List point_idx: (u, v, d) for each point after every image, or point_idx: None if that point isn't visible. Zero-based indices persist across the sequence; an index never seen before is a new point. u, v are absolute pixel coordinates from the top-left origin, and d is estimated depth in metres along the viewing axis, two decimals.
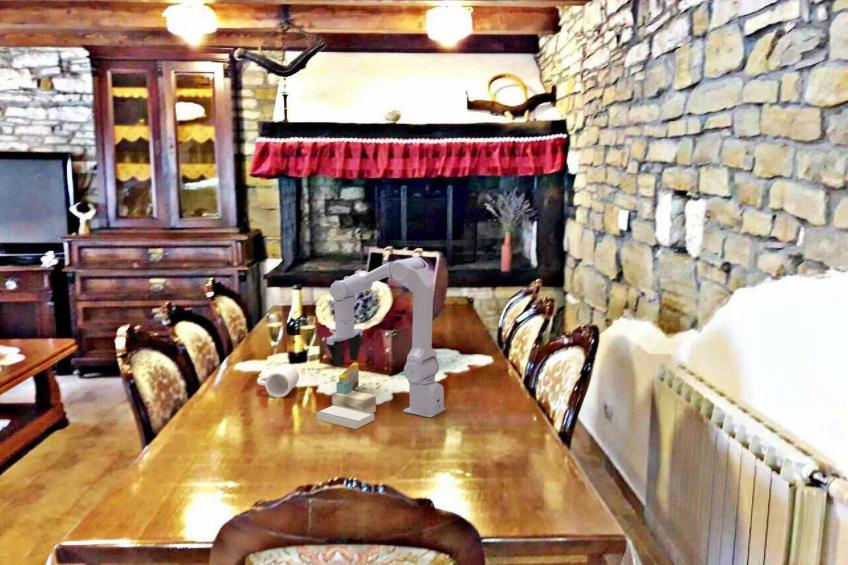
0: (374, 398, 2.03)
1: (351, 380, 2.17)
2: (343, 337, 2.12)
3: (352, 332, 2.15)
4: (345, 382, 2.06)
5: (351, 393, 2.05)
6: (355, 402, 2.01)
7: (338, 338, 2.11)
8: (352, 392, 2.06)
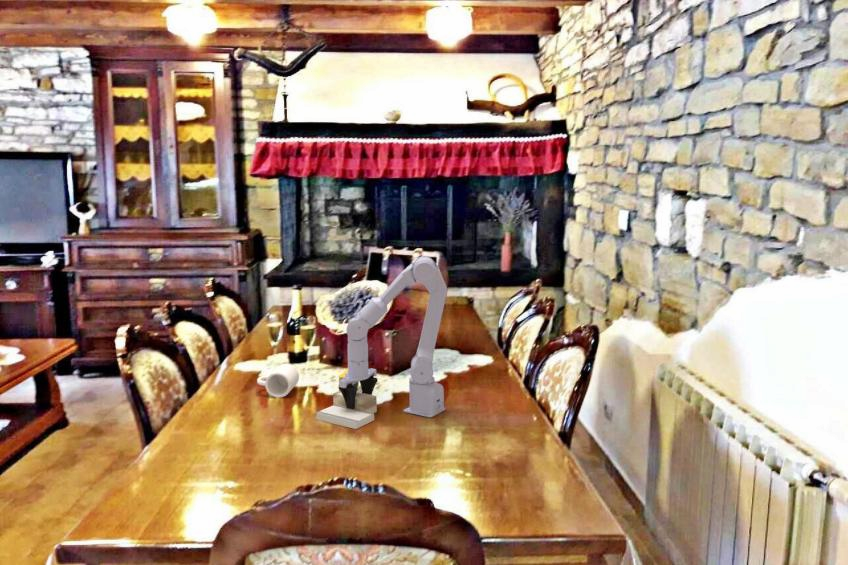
0: (375, 398, 2.03)
1: None
2: (356, 379, 1.98)
3: (366, 374, 2.01)
4: None
5: None
6: (355, 402, 2.01)
7: (351, 381, 1.97)
8: None
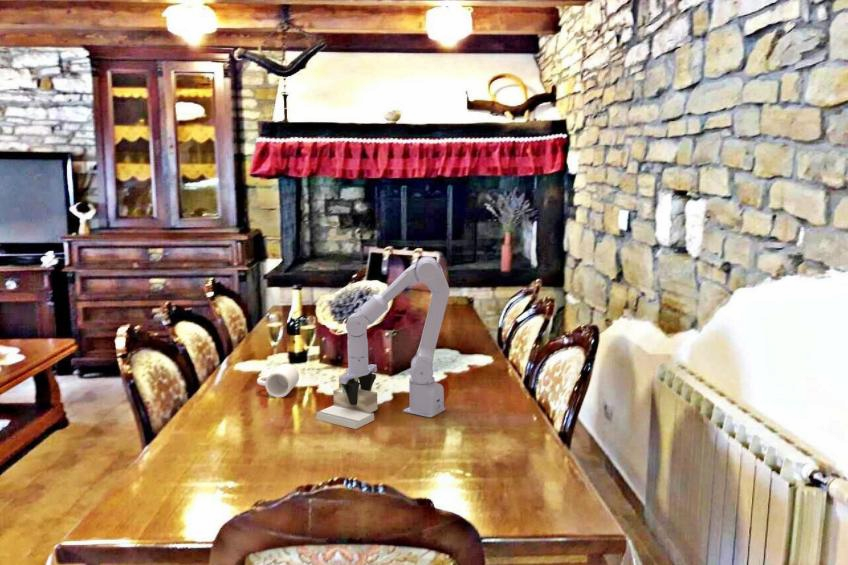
0: (376, 394, 2.02)
1: None
2: (357, 375, 1.98)
3: (366, 369, 2.01)
4: None
5: None
6: None
7: (351, 376, 1.97)
8: None
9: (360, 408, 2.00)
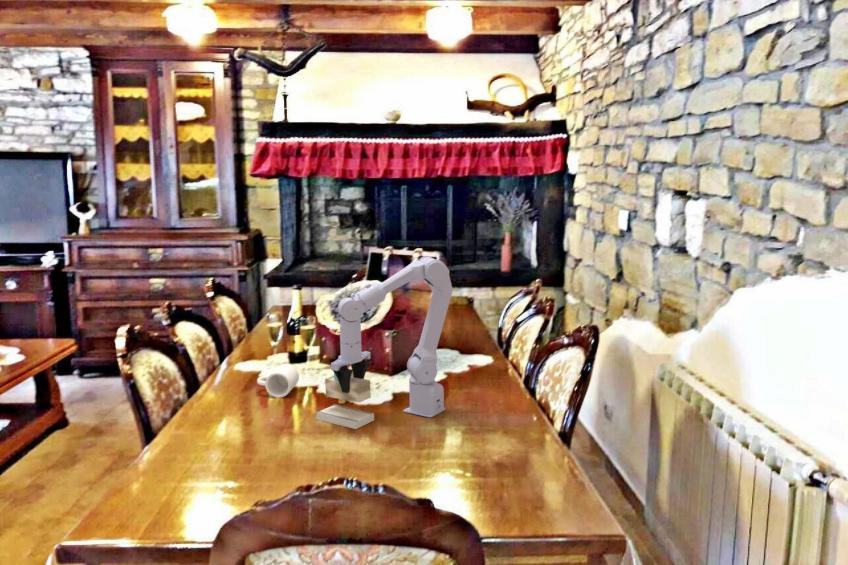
0: (369, 382, 1.96)
1: None
2: (349, 362, 1.92)
3: (359, 356, 1.94)
4: None
5: None
6: None
7: (343, 363, 1.91)
8: None
9: (352, 396, 1.94)
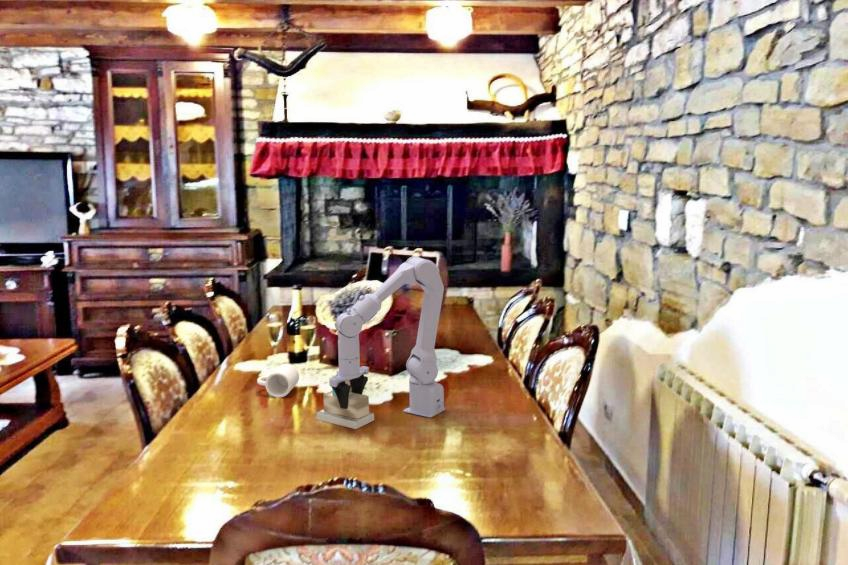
0: (367, 398, 1.94)
1: None
2: (347, 378, 1.90)
3: (357, 372, 1.92)
4: None
5: None
6: None
7: (342, 379, 1.89)
8: None
9: (351, 412, 1.92)
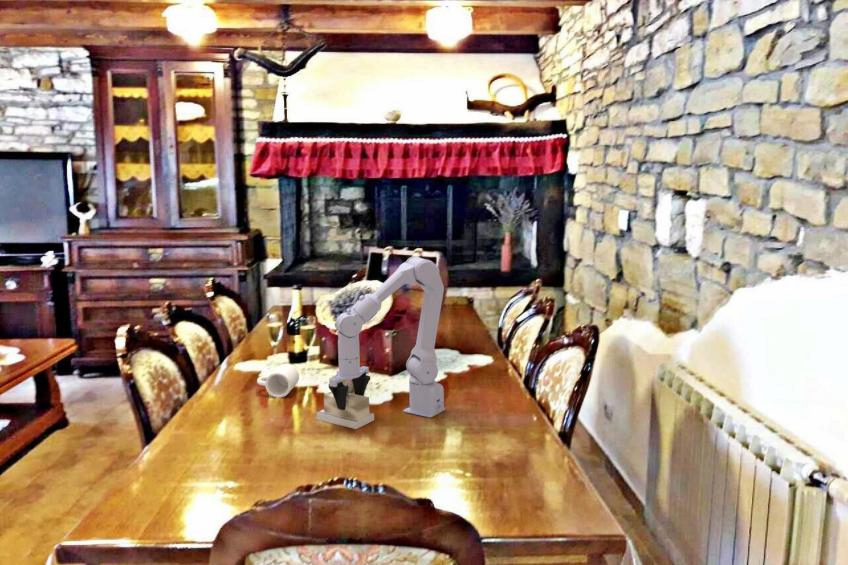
0: (368, 399, 1.94)
1: (351, 380, 2.17)
2: (347, 378, 1.90)
3: (357, 372, 1.92)
4: None
5: None
6: (347, 404, 1.93)
7: (342, 379, 1.89)
8: None
9: (351, 413, 1.92)
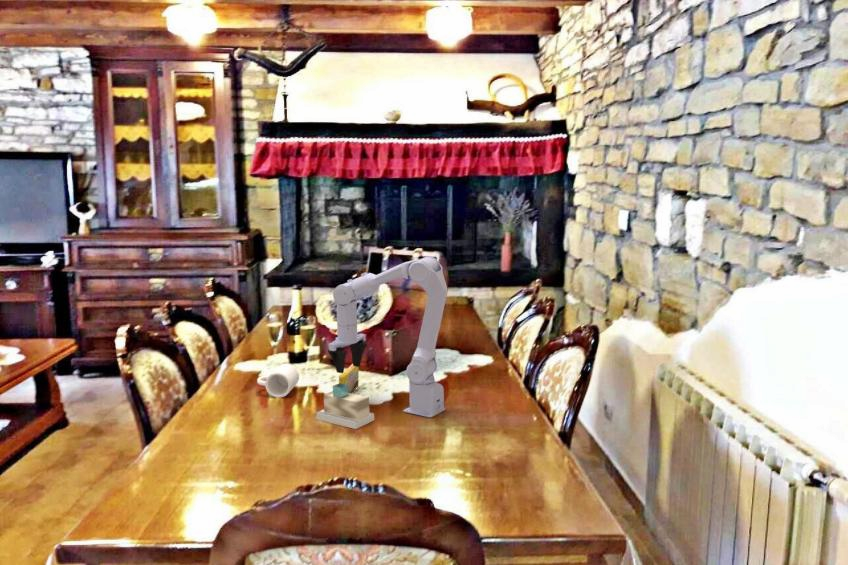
0: (368, 399, 1.94)
1: (351, 380, 2.17)
2: (346, 343, 2.04)
3: (355, 338, 2.06)
4: (342, 385, 1.95)
5: None
6: (347, 404, 1.93)
7: (340, 344, 2.03)
8: None
9: (351, 413, 1.92)
